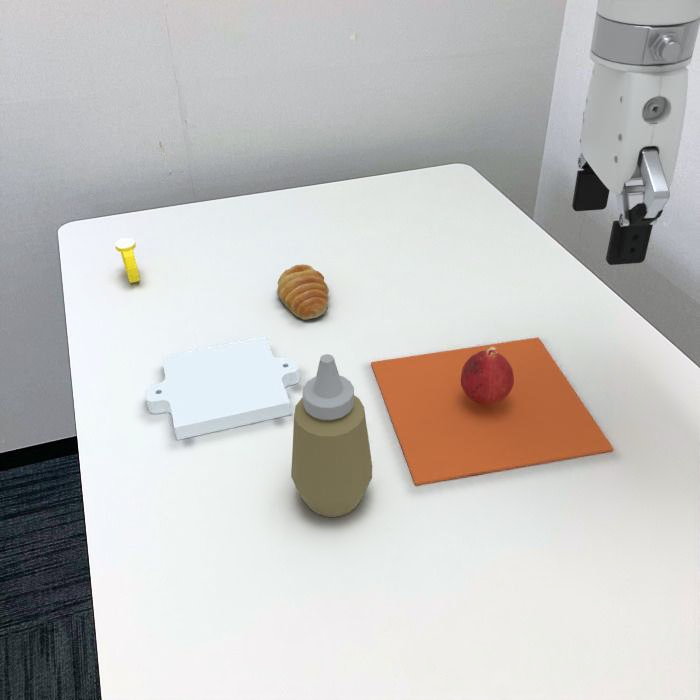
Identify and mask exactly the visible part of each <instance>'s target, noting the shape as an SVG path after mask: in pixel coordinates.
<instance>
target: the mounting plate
mask: <svg viewBox="0 0 700 700" xmlns="http://www.w3.org/2000/svg"><path fill="white" fill-rule="evenodd" d="M161 360H162V366H163V373H164V379H163V381H161V382H159V383H154V384H151V385H148V386H147V387H146V388H145V390H144V395H145V400H146V402H147V408H148V411H149V412H150V413H151V414H153V415H159V414H163V413H168V414H171V417H172V422H173V428H174V433H175V437H176V441H180V440H183V439H188V438H194V437H197V436H202V435H206V434H212V433H216V432H220V431H224V430H225V431H226V430H229V429H234V428H239V427H243V426H247V425H251V424H256V423H261V422H265V421H269V420H273V419H279V418H283V417H286V416H292V409H291V408H292V407H291V400H290V398H289V395H288V393H287V390H286V387H288V386H293V385H296V384H298V383H299V382H300V381H301V376H300V366H299V365H300V364H299V363H298V360H297V359H296V358H295V357H293V356H286V357H277V356H274V354H273V351H272V349H271V347H270V344H269V341H268V337H267V336H266V335H262V336H258V337H253V338H252V337H251V338H248V339H243V340H238V341H233V342H228V343H222V344H217V345H213V346H207V347H202V348H198V349H197V348H196V349H193V350H188V351H183V352H178V353H172V354H167V355H162V356H161Z"/></svg>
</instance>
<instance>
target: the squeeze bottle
mask: <svg viewBox="0 0 700 700" xmlns="http://www.w3.org/2000/svg"><path fill="white" fill-rule="evenodd" d="M335 360H336V359H335V357H334V356H333V355H332V354H329V353H325V354H322V355H321V356H320V357H319V362H318V367H317V370H316V371H317V372H316V375H315V376H314V377H312V378H310V379H309V380H307V381H306V382H305V384H304V386H303V387H302V397H301V398H300V400H299V401H298V402H297V403H296V405H295V407H294V413H293V429H292V430H293V431H292V449H291V450H292V452H291V471H290V473H291V474H290V478H291V479H292V482H293V485H294V487H295V489H296V490H297V492H298V493H299V496H301V498H302V499H303V501H304V503H305V504H306V506H307V507H308V508H309V509H310V510H312V511H313V512H314V513H315V514H318V515H321V516H322V517H331V518H333V517H336V518H337V517H340V516H344V515H347V514H350V513H351V512H353V510H355V509H356V508H357V507H358V505H359V504H360V502H361V500H362V498H363V497H364V494H365V492H366V490H367V489H368V486H369V484H370V483H371V481H372V479H373V461H372V454H371V446H370V438H369V433H368V426H367V425H368V424H367V418H366V409H365V406H364V404H363V403H362V401H361V399H360V398H359V397H358V396H356V395H355V387H354V385H353V383H352V381H350V380H349V379H348V378H346V377H345V376H342V375H340V373H339V371H338V367H337V364H336V361H335Z"/></svg>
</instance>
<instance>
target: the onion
mask: <svg viewBox="0 0 700 700" xmlns="http://www.w3.org/2000/svg"><path fill="white" fill-rule="evenodd" d="M513 385H514V375H513V369H512V367H511V365H510V364H509V362H508V361H507V359H506V358H505V357H504V356H502V355H501V354H499V353H498V350H497V348H496V347H490V348H488V349H487V350H485V351H480V352H478V353H476V354H475V355H473V356H471V357H470V358H469V359H468V361H467V362H466V363H465V364H464V366H463V369H462V373H461V386H462V388H463V390H464V392H465V393H466V395H467V397H469V398H470V399H472V400H473V401H475V402H476V403H480V404H493V403H497V402H500V401H501V400H503V399H505V398H506V397H507V396H508V395H509V393H510V391H511V390H512V388H513Z"/></svg>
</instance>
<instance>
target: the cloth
mask: <svg viewBox="0 0 700 700" xmlns="http://www.w3.org/2000/svg"><path fill="white" fill-rule="evenodd" d="M490 347H496V348H497V350H498V353H499V354H501V355H502V356H504V357H505V358H506V359H507V361H508V362H509V364H510V365H511V367H512V369H513V375H514V385H513V388H512V390H511V391H510V393H509V395H508V396H507V397H506V398H505V399H503V400H501V401H500V402H497V403H493V404H480V403H476V402H475V401H473V400H472V399H470V398H469V397H467V395H466V393H465V392H464V390H463V388H462V386H461V373H462V369H463V366H464V364H465V363H466V362H467V361H468V359H469V358H470V357H471V356H473V355H475V354H476V353H478V352H480V351H485V350H487V349H488V348H490ZM370 366H371V368H372V371H373V374H374V376H375V379H376V382H377V384H378V387H379V390H380V393H381V395H382V398H383V401H384V404H385V406H386V409H387V411H388V415H389V417H390V421H391V423H392V426H393V428H394V432H395V434H396V437H397V439H398V443H399V445H400V447H401V450H402V454H403V456H404V458H405V462H406V464H407V467H408V469H409V473H410V475H411V478H412V481H413V483H414V486H422V485H427V484H432V483H439V482H444V481H451V480H456V479H461V478H467V477H473V476H478V475H484V474H490V473H496V472H501V471H507V470H513V469H519V468H525V467H529V466H535V465H541V464H546V463H553V462H558V461H564V460H570V459H575V458H581V457H587V456H592V455H599V454H604V453H609V452H610V453H611V452H613V451H614V446H612V444H611V442H610V441H609V439H608V438H607V436H606V435H605V434H604V432H603V431H602V429H601V428H600V427H599V425H598V423H597V422H596V420H595V419H594V417H593V416H592V414H591V413H590V411H589V410H588V409H587V407H586V405H585V404H584V402H583V401H582V400H581V398H580V397H579V395H578V393H577V392H576V391H575V389H574V388H573V386H572V384H571V383H570V382H569V380H568V379H567V377H566V376H565V375H564V373H563V372H562V370H561V368H560V367H559V365H558V364H557V363H556V361H555V360H554V358H553V357H552V355H551V354H550V352H549V351H548V349H547V348H546V346H545V345H544V343H543V341H542V340H541V339H540V337H533V338H526V339H519V340H512V341H506V342H505V341H504V342H497V343H492V344H485V345H478V346H470V347H465V348H458V349H450V350H444V351H437V352H431V353H424V354H416V355H410V356H402V357H396V358H389V359H383V360H382V359H381V360H376V361H370Z"/></svg>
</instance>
